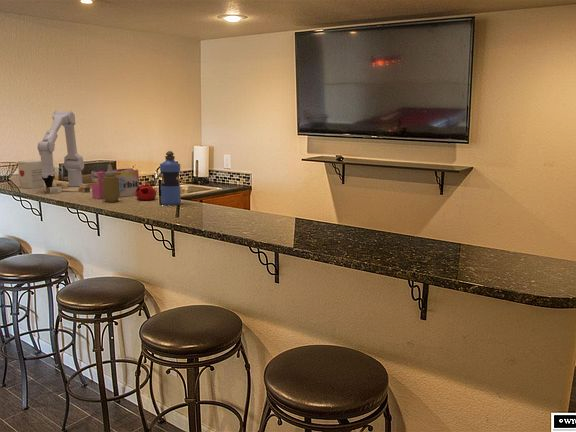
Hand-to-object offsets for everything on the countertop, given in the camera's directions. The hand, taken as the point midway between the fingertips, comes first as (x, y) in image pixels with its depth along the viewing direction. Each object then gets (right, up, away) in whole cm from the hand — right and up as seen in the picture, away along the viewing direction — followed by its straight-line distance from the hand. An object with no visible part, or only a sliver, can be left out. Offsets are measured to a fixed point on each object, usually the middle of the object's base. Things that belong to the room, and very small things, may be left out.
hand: (49, 189), depth 260 cm
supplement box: (-18, +2, +17) cm, 24 cm away
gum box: (+39, -4, -7) cm, 39 cm away
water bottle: (+71, -8, -26) cm, 76 cm away
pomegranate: (+56, -6, -16) cm, 59 cm away
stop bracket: (+5, -2, -3) cm, 7 cm away
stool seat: (+9, 0, +9) cm, 12 cm away
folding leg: (+3, -1, 0) cm, 3 cm away
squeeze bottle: (+42, -7, -23) cm, 48 cm away
